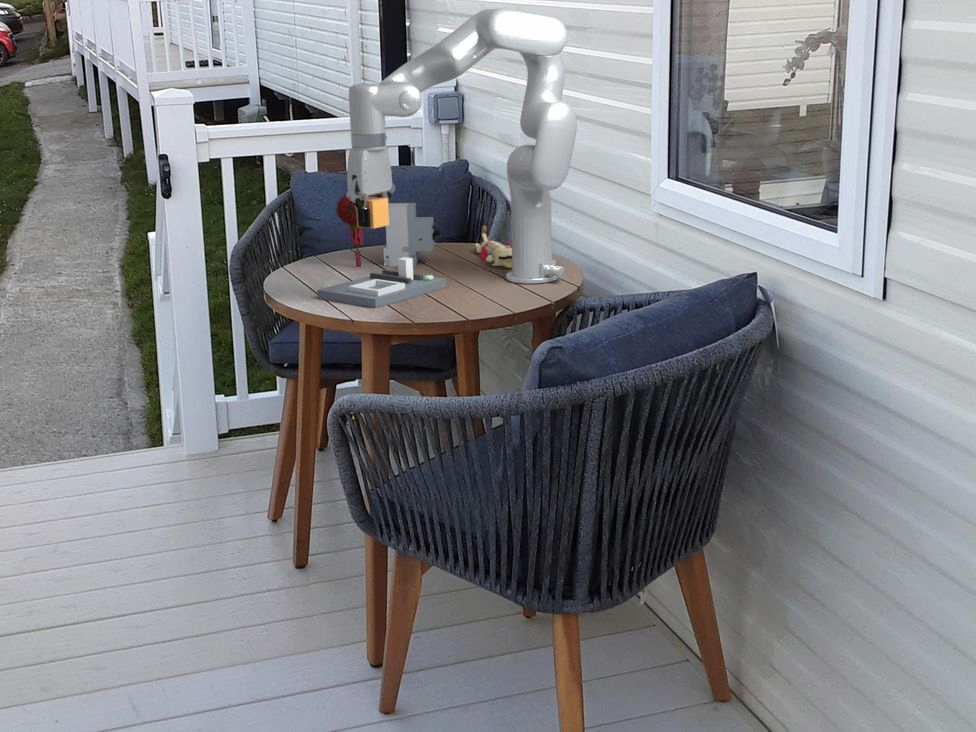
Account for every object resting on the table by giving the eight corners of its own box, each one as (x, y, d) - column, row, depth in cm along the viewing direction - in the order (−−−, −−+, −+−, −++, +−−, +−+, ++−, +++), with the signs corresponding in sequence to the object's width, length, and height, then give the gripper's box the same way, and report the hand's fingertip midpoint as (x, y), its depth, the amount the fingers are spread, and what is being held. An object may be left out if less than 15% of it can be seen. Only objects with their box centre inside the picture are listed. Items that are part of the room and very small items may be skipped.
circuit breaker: (439, 265, 299) (437, 206, 295) (384, 266, 299) (381, 208, 295) (441, 259, 306) (439, 202, 302) (387, 260, 307) (384, 203, 302)
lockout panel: (445, 287, 274) (445, 273, 273) (375, 308, 256) (374, 293, 255) (389, 278, 285) (388, 266, 284) (317, 298, 266) (317, 284, 266)
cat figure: (465, 259, 313) (491, 269, 289) (464, 226, 311) (489, 233, 288) (501, 256, 315) (529, 266, 292) (500, 223, 314) (527, 231, 290)
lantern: (371, 271, 293) (364, 151, 285) (335, 271, 295) (327, 151, 286) (381, 264, 302) (375, 146, 294) (346, 263, 304) (338, 147, 295)
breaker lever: (413, 279, 273) (412, 258, 272) (406, 281, 271) (405, 259, 270) (405, 278, 274) (404, 257, 273) (398, 280, 273) (397, 258, 271)
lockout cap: (389, 225, 260) (387, 198, 259) (373, 228, 257) (372, 201, 255) (372, 223, 263) (371, 196, 262) (357, 226, 260) (355, 199, 258)
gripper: (382, 137, 263) (386, 218, 268) (328, 145, 250) (334, 229, 256) (407, 139, 259) (411, 220, 264) (353, 146, 246) (358, 232, 251)
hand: (373, 223), depth 260 cm, fingers closed on lockout cap, 4 cm apart
